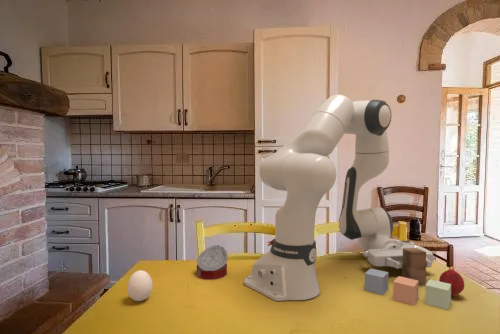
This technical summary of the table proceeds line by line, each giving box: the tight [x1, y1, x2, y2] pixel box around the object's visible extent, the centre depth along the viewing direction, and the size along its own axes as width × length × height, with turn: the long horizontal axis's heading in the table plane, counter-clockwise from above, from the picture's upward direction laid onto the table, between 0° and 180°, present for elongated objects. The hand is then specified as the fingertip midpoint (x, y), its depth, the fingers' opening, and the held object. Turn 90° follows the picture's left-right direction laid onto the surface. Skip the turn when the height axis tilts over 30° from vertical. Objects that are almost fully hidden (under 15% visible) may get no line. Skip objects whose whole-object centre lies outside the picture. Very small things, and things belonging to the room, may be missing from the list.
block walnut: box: [401, 248, 427, 287], centre depth 94 cm, size 4×4×10 cm
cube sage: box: [424, 278, 452, 311], centre depth 81 cm, size 5×5×5 cm
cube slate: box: [364, 268, 389, 296], centre depth 89 cm, size 5×5×5 cm
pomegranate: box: [438, 266, 465, 297], centre depth 85 cm, size 6×6×8 cm
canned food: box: [196, 244, 229, 281], centre depth 102 cm, size 11×10×10 cm
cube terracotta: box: [392, 276, 420, 306], centre depth 84 cm, size 5×5×5 cm
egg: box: [126, 269, 153, 302], centre depth 83 cm, size 6×6×8 cm
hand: (414, 265), depth 94 cm, fingers open, 8 cm apart
